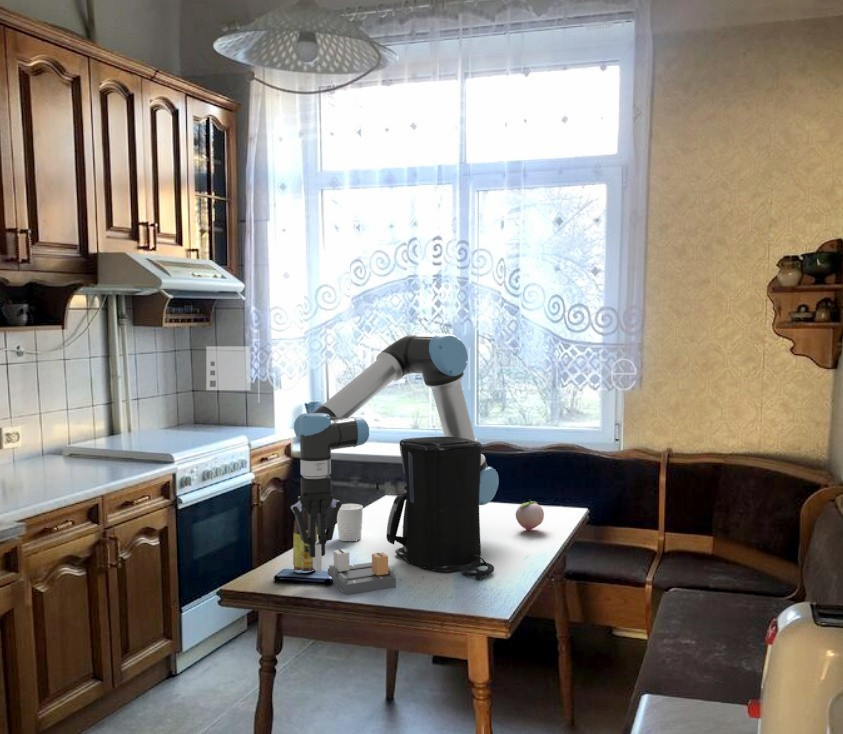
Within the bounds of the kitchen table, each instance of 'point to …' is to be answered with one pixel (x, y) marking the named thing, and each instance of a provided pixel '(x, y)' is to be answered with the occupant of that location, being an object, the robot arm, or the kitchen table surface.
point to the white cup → (349, 522)
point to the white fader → (341, 560)
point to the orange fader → (380, 563)
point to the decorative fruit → (529, 515)
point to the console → (361, 579)
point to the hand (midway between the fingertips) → (317, 568)
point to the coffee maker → (440, 505)
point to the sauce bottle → (302, 546)
